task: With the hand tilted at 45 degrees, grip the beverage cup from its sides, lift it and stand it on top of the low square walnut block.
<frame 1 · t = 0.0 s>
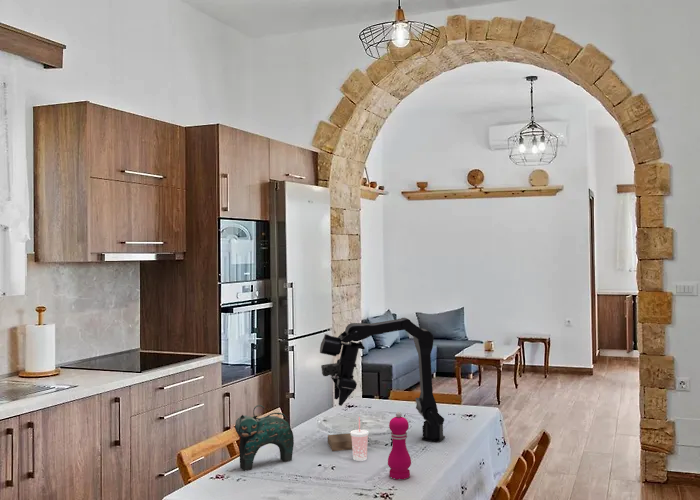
hand: (337, 402, 255), 15 cm above the table, tool pointing down, fingers open, 9 cm apart
beverage cup: (360, 459, 241), on the table
ceramic cat: (264, 465, 237), on the table
walnut block: (342, 446, 255), on the table
pepper mill: (399, 476, 224), on the table
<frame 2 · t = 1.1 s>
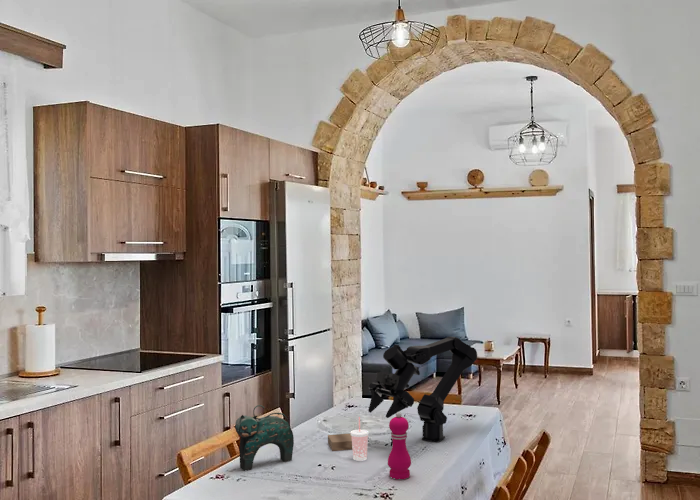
hand: (377, 414, 246), 13 cm above the table, tool tilted 45°, fingers open, 9 cm apart
nothing on the table moved.
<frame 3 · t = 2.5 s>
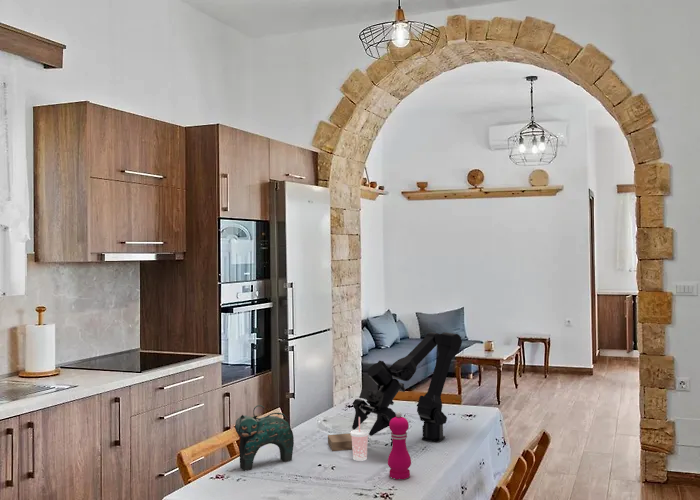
hand: (361, 432, 241), 9 cm above the table, tool tilted 45°, fingers open, 9 cm apart
nothing on the table moved.
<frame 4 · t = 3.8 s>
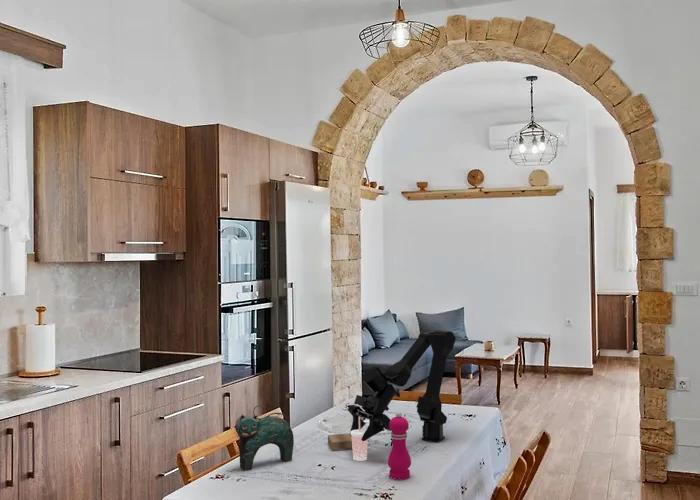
hand: (356, 438, 240), 7 cm above the table, tool tilted 45°, fingers closed on beverage cup, 6 cm apart
beverage cup: (360, 459, 241), on the table, touching gripper
everything else where it was.
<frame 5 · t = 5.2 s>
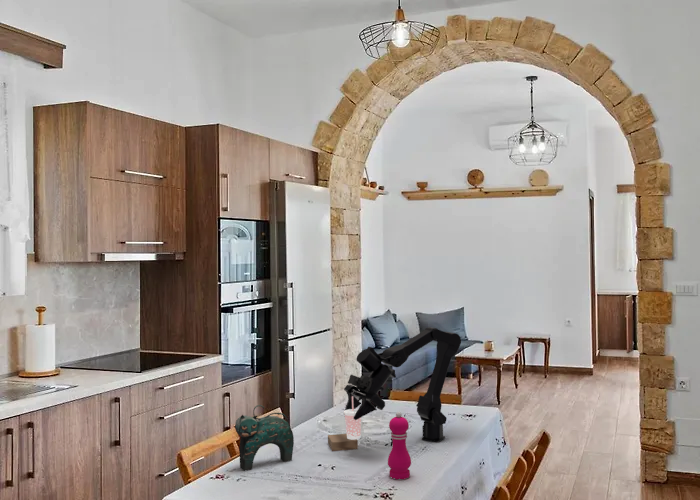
hand: (349, 417, 244), 13 cm above the table, tool tilted 45°, fingers closed on beverage cup, 6 cm apart
beverage cup: (353, 438, 244), point 6 cm above the table, touching gripper
everything else where it was.
when the fingers open (11 cm above the table, at t = 6.8 s): beverage cup stays where it is, resting on walnut block.
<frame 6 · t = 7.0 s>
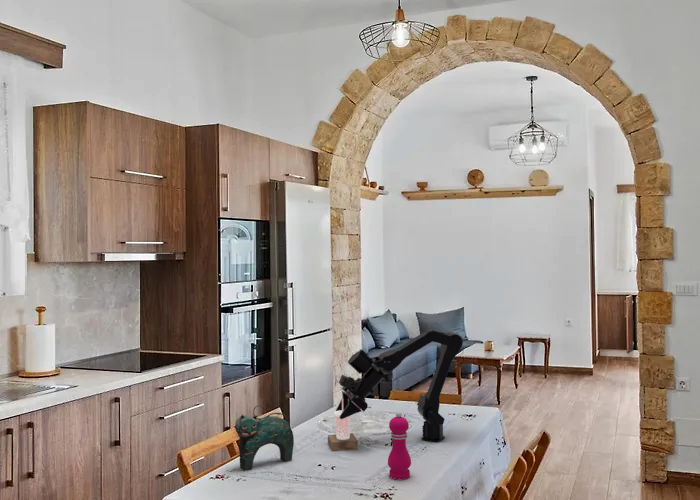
hand: (338, 415, 254), 11 cm above the table, tool tilted 45°, fingers open, 8 cm apart
beverage cup: (343, 438, 255), point 3 cm above the table, touching walnut block
everything else where it was.
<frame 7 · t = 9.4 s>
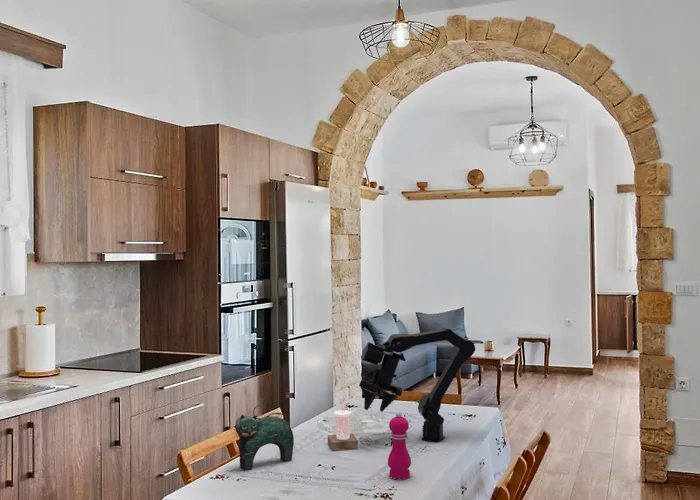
hand: (373, 410, 258), 12 cm above the table, tool tilted 20°, fingers open, 9 cm apart
nothing on the table moved.
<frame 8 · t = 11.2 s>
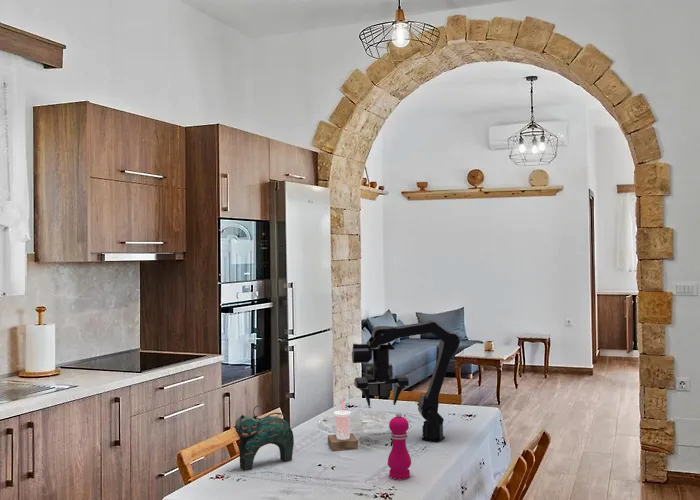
hand: (381, 405, 259), 13 cm above the table, tool pointing down, fingers open, 9 cm apart
nothing on the table moved.
at the end: beverage cup inside the target area on the walnut block (0.2 cm from its centre), point 2.8 cm above the walnut block's base; beverage cup tilted 0°; the gripper is holding nothing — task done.
